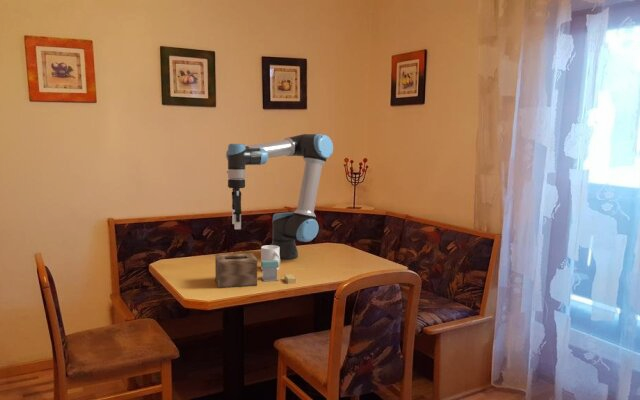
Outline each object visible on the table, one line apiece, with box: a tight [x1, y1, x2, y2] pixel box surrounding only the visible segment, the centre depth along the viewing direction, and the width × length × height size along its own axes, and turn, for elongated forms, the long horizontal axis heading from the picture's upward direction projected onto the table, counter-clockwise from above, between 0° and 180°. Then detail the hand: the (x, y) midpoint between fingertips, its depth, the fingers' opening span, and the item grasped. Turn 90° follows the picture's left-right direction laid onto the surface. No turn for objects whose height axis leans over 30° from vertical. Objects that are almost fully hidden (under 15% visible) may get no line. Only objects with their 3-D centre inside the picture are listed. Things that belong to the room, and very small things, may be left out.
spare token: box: [284, 273, 297, 285], centre depth 223 cm, size 7×3×2 cm, turn 17°
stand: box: [260, 267, 279, 282], centre depth 226 cm, size 6×6×6 cm
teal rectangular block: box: [260, 260, 279, 268], centre depth 225 cm, size 7×3×2 cm, turn 106°
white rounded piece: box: [260, 244, 281, 271], centre depth 241 cm, size 9×12×11 cm
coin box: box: [214, 252, 258, 289], centre depth 219 cm, size 16×13×11 cm
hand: (236, 226), depth 230 cm, fingers open, 13 cm apart
